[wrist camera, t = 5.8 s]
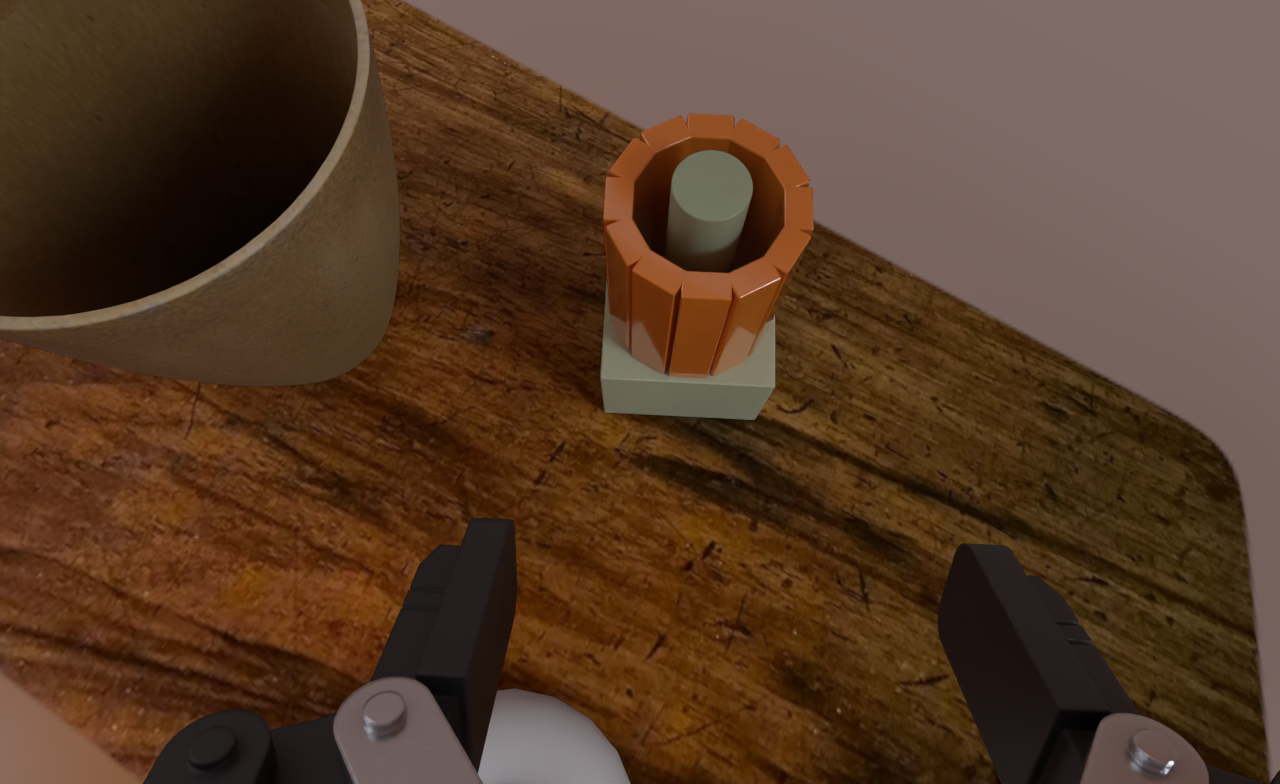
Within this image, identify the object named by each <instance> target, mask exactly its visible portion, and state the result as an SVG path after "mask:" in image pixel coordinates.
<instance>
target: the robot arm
mask: <svg viewBox="0 0 1280 784" xmlns="http://www.w3.org/2000/svg"><path fill="white" fill-rule="evenodd" d="M516 600H517V570H516V547H515V527H514V521H513V520H509V519H489V518H472V519H471V520H470V522H469V524H468V527H467V530H466V533H465V536H464V538H463V541H462V544H461V546H455V545H439V546H438V547H437V548H436V549H435V550H434V551H433V552H432V553H431V554H429V555H428V556H427V557H426V558H425V559H424V560H423V561H422V562H421V563H420V565H419V567H418V569H417V572H416V574H415V576H414V579H413V581H412V584H411V586H410V591H408V593H407V596H406V598H405V600H404V603H403V608H402V609H401V610H400V612H399V615H398V617H397V619H396V622H395V624H394V627H393V629H392V631H391V634H390V636H389V639H388V641H387V643H386V646H385V648H384V651H383V653H382V655H381V658H380V660H379V663H378V665H377V667H376V670H375V672H374V674H373V677H372V679H371V681H370V682H369V683H367V684H365V685H363V686H362V687H360V688H359V689H357V690H356V691H354V692H353V693H352V694H351V695H350V696H348V697H347V698H346V700H345V701H344V702H343V703H342V704H341V706H340V708H339V709H338V711H337V712H335V713H333V714H330V715H328V716H325V717H323V718H319V719H316V720H312V721H308V722H303V723H299V724H294V725H290V726H286V727H281V728H277V729H272V730H270V729H269V726H268V724H267V723H266V721H265V720H264V719H263V718H262V717H261V716H259V715H258V714H256V713H254V712H251V711H247V710H238V709H234V710H225V711H220V712H216V713H213V714H210V715H207V716H205V717H202V718H200V719H198V720H196V721H194V722H193V723H191V724H189V725H188V726H186V727H185V728H184V729H182V730H181V731H180V732H179V733H177V734H176V735H175V736H174V737H173V738H172V739H171V740H170V741H169V742H168V744H167V745H166V746H165V748H164V749H163V750H162V752H161V753H160V755H159V757H158V759H157V760H156V762H155V764H154V766H153V767H152V769H151V771H150V772H149V774H148V776H147V778H146V779H145V781H144V783H143V784H483V782H482V780H481V779H480V777H479V775H478V771H479V767H480V763H481V758H482V754H483V750H484V746H485V741H486V737H487V733H488V728H489V724H490V720H491V716H492V711H493V707H494V703H495V698H496V694H497V690H498V685H499V681H500V677H501V673H502V668H503V664H504V660H505V655H506V651H507V647H508V643H509V638H510V634H511V630H512V625H513V621H514V616H515V609H516ZM938 631H939V636H940V640H941V643H942V646H943V648H944V650H945V653H946V655H947V657H948V660H949V662H950V664H951V667H952V669H953V671H954V674H955V676H956V678H957V681H958V683H959V685H960V688H961V690H962V692H963V695H964V697H965V699H966V702H967V704H968V706H969V709H970V711H971V713H972V716H973V718H974V720H975V723H976V725H977V727H978V730H979V732H980V735H981V737H982V739H983V742H984V744H985V746H986V749H987V751H988V753H989V756H990V758H991V760H992V763H993V765H994V767H995V770H996V772H997V774H998V777H999V779H1000V781H1001V784H1265V783H1262V782H1258V781H1255V780H1252V779H1249V778H1245V777H1242V776H1239V775H1236V774H1232V773H1229V772H1226V771H1223V770H1219V769H1216V768H1213V767H1210V766H1208V765H1205V764H1204V762H1203V760H1202V759H1201V757H1200V756H1199V754H1198V753H1197V752H1196V751H1195V749H1194V748H1193V747H1192V746H1191V745H1190V744H1189V743H1188V742H1187V741H1186V740H1185V739H1183V738H1182V737H1181V736H1180V735H1178V734H1177V733H1176V732H1174V731H1173V730H1171V729H1170V728H1168V727H1166V726H1164V725H1163V724H1161V723H1159V722H1157V721H1154V720H1152V719H1150V718H1147V717H1144V716H1141V715H1140V714H1139V712H1138V711H1137V709H1136V708H1135V706H1134V705H1133V703H1132V701H1131V700H1130V698H1129V697H1128V695H1127V694H1126V692H1125V691H1124V689H1123V688H1122V686H1121V685H1120V683H1119V682H1118V680H1117V679H1116V677H1115V676H1114V674H1113V673H1112V671H1111V670H1110V668H1109V667H1108V665H1107V663H1106V662H1105V660H1104V659H1103V657H1102V656H1101V654H1100V653H1099V651H1098V650H1097V648H1096V647H1095V646H1094V645H1092V644H1091V639H1090V638H1089V636H1088V635H1087V633H1086V632H1085V630H1084V629H1083V627H1082V626H1079V624H1078V619H1077V618H1076V616H1075V615H1074V613H1073V612H1072V610H1071V609H1070V607H1069V606H1068V604H1067V603H1066V601H1065V600H1064V598H1063V597H1062V596H1061V595H1060V594H1058V593H1057V592H1056V591H1055V590H1054V589H1052V588H1051V587H1050V586H1049V585H1048V584H1047V583H1045V582H1044V581H1043V580H1042V579H1041V578H1039V577H1038V576H1029V575H1026V574H1025V572H1024V570H1023V569H1022V567H1021V566H1020V564H1019V562H1018V561H1017V559H1016V558H1015V556H1014V554H1013V553H1012V551H1011V550H1010V549H1009V548H1008V547H1007V546H1004V545H985V544H965V543H963V544H961V545H959V547H958V548H957V550H956V552H955V555H954V559H953V562H952V565H951V568H950V572H949V575H948V578H947V582H946V585H945V588H944V591H943V595H942V598H941V601H940V605H939V609H938ZM1270 784H1280V771H1279V772H1278V773H1277V774H1276V775H1275V777H1274V778H1273V780H1272V781H1271V783H1270Z"/></svg>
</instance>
